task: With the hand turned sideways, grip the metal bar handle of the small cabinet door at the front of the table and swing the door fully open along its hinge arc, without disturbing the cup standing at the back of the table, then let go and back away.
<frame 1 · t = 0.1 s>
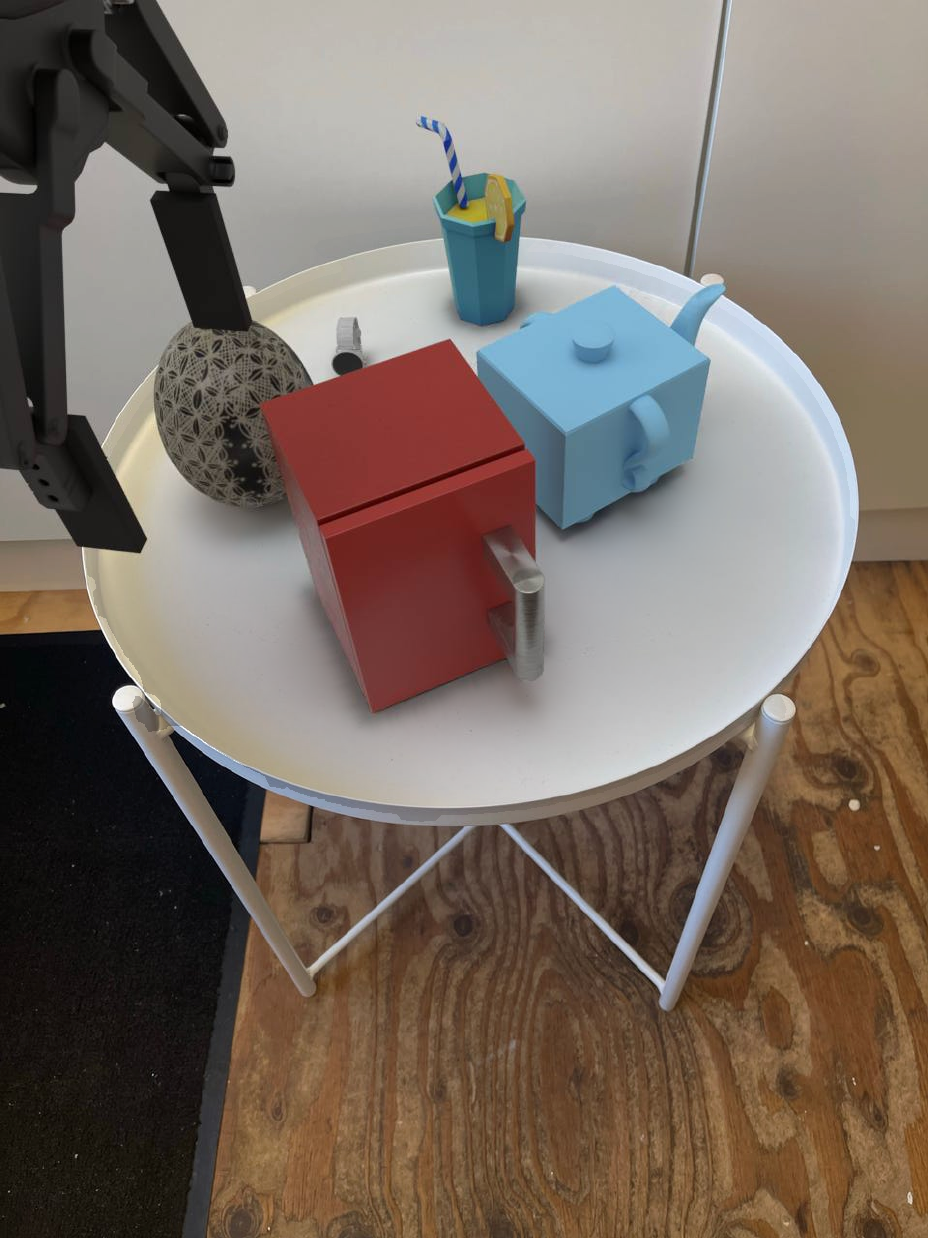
hand: (173, 424, 42), 26 cm above the table, tool pointing down, fingers open, 13 cm apart
cabinet door: (459, 623, 56), point 9 cm above the table, hinge at 0.0°
wristwatch: (355, 372, 84), on the table
teapot: (614, 453, 76), on the table
decorative egg: (263, 486, 77), on the table
cup: (478, 304, 88), on the table
red cabinet body: (419, 612, 68), on the table
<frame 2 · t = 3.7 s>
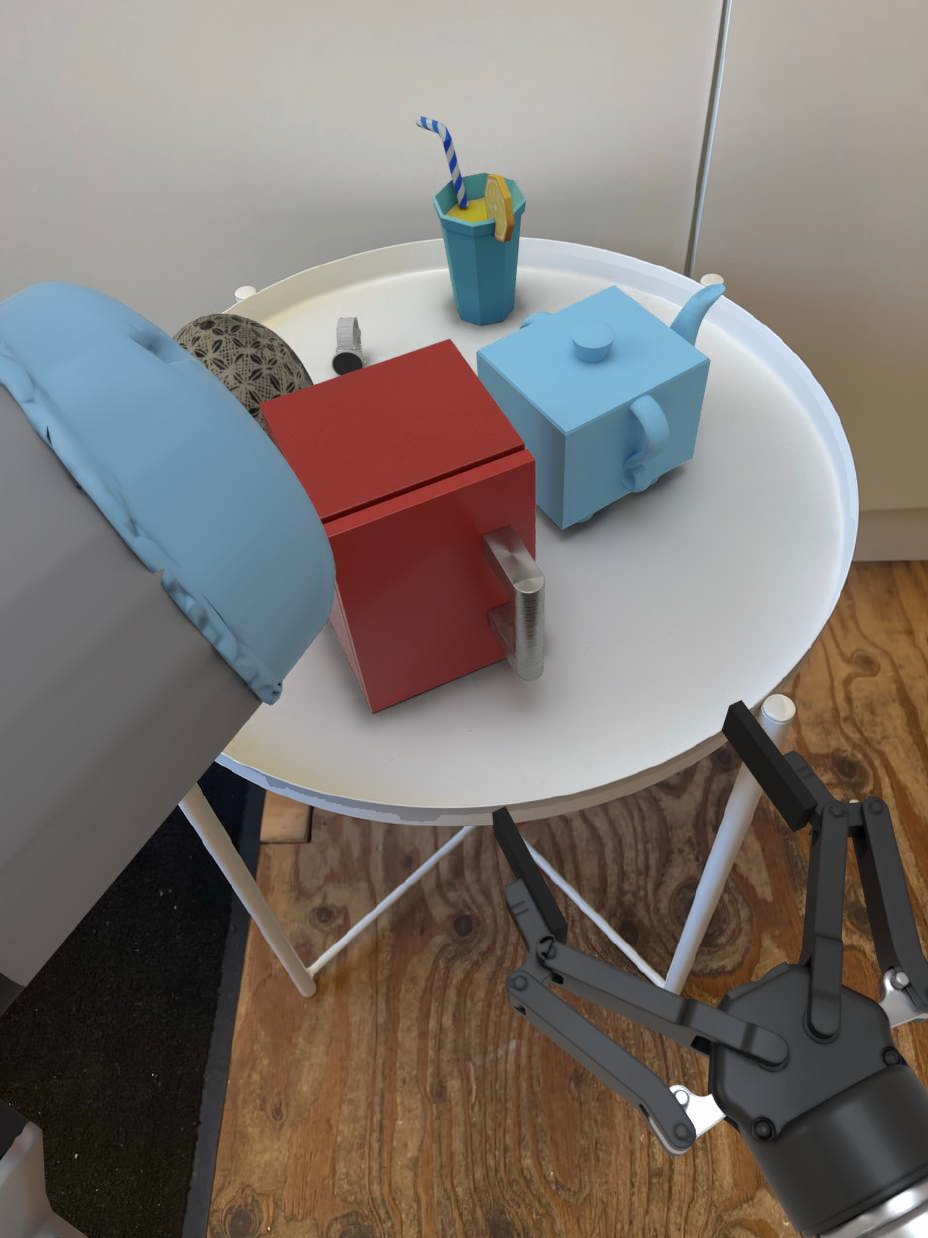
hand: (618, 765, 50), 10 cm above the table, tool horizontal, fingers open, 13 cm apart
nothing on the table moved.
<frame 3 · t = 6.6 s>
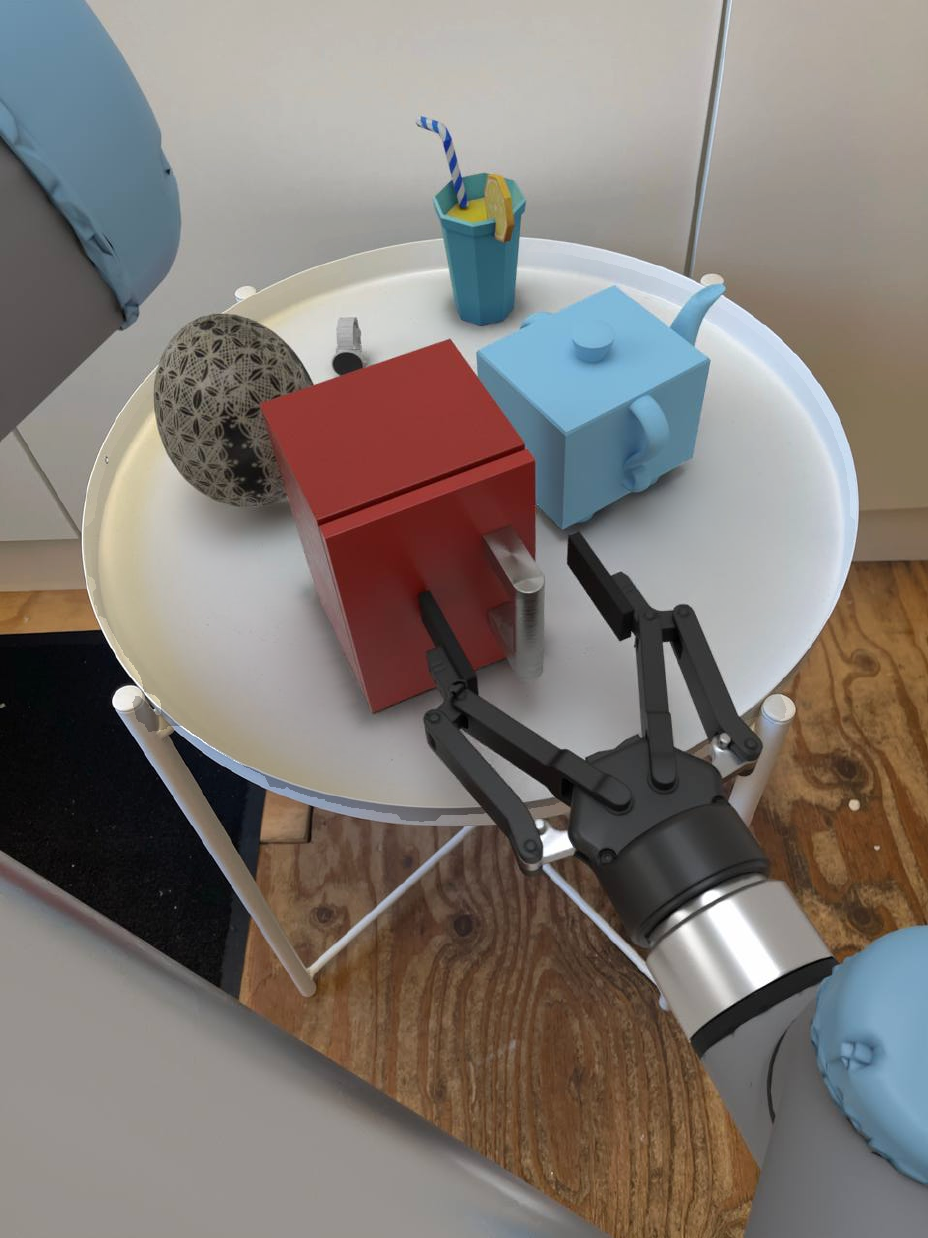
hand: (500, 576, 58), 9 cm above the table, tool horizontal, fingers open, 9 cm apart
cabinet door: (459, 623, 56), point 9 cm above the table, hinge at 0.0°, touching gripper
everything else where it was.
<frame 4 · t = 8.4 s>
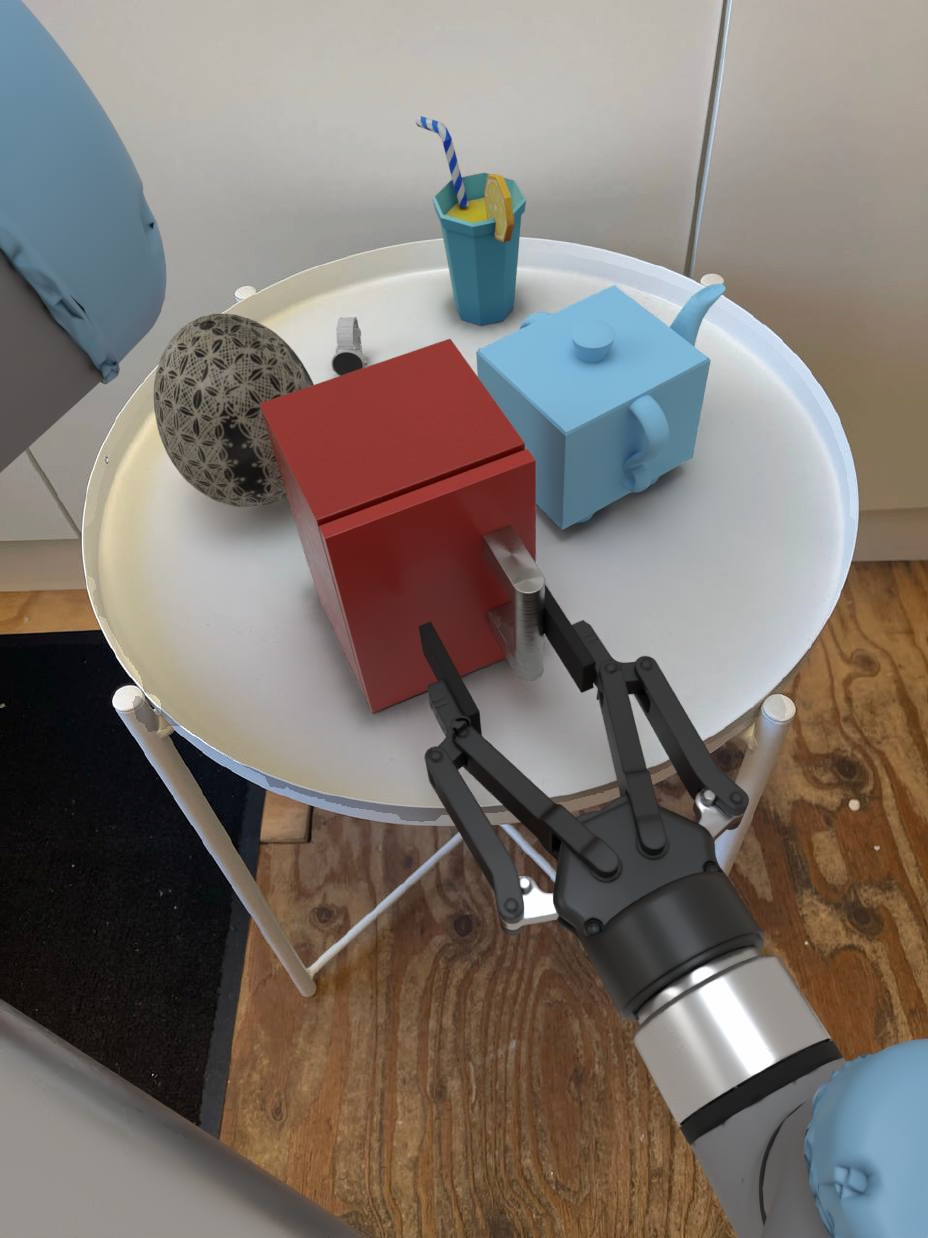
hand: (481, 615, 56), 9 cm above the table, tool horizontal, fingers open, 6 cm apart
nothing on the table moved.
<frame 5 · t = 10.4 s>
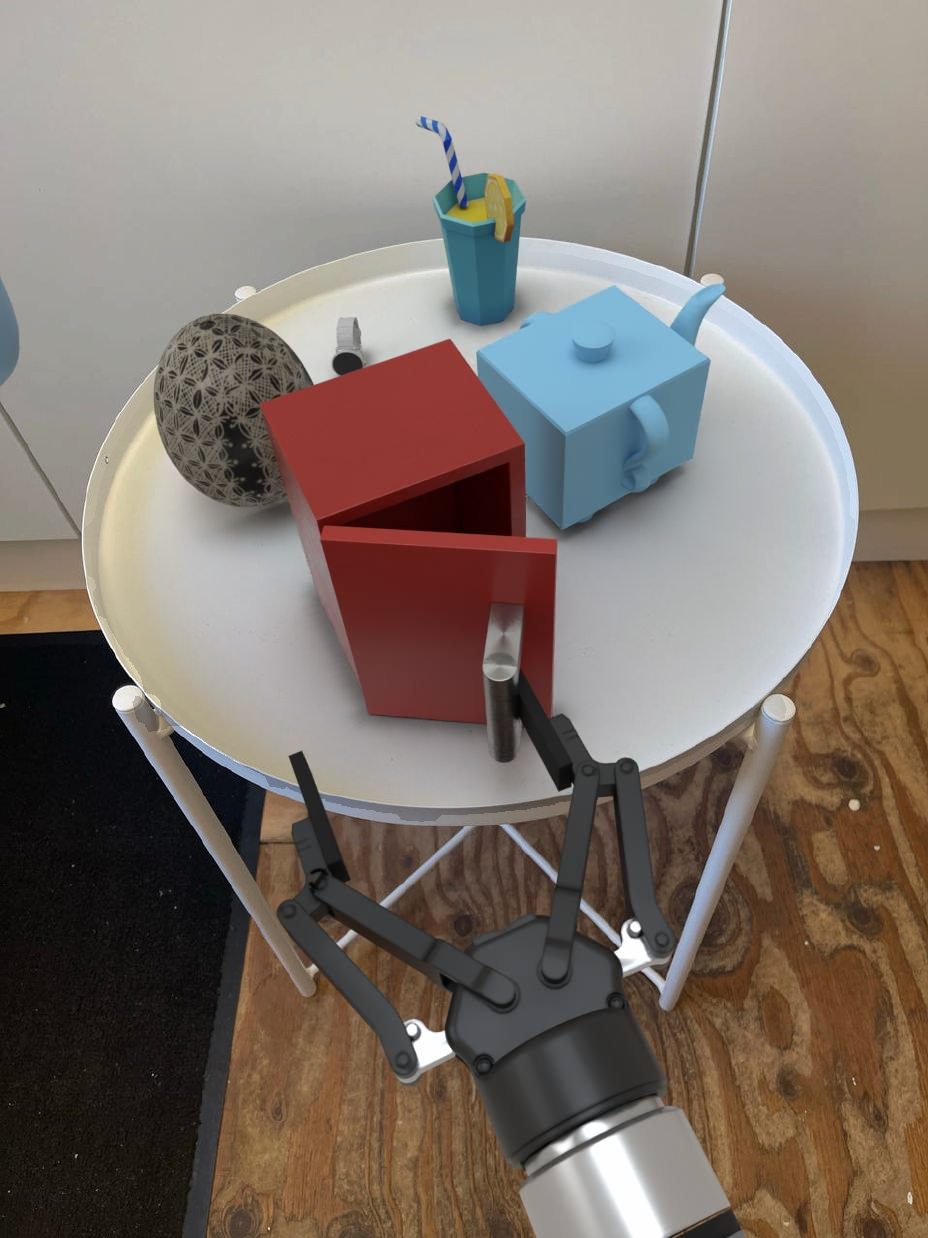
hand: (408, 721, 52), 9 cm above the table, tool horizontal, fingers open, 12 cm apart
cabinet door: (444, 674, 54), point 9 cm above the table, hinge at 31.7°, touching gripper
everything else where it was.
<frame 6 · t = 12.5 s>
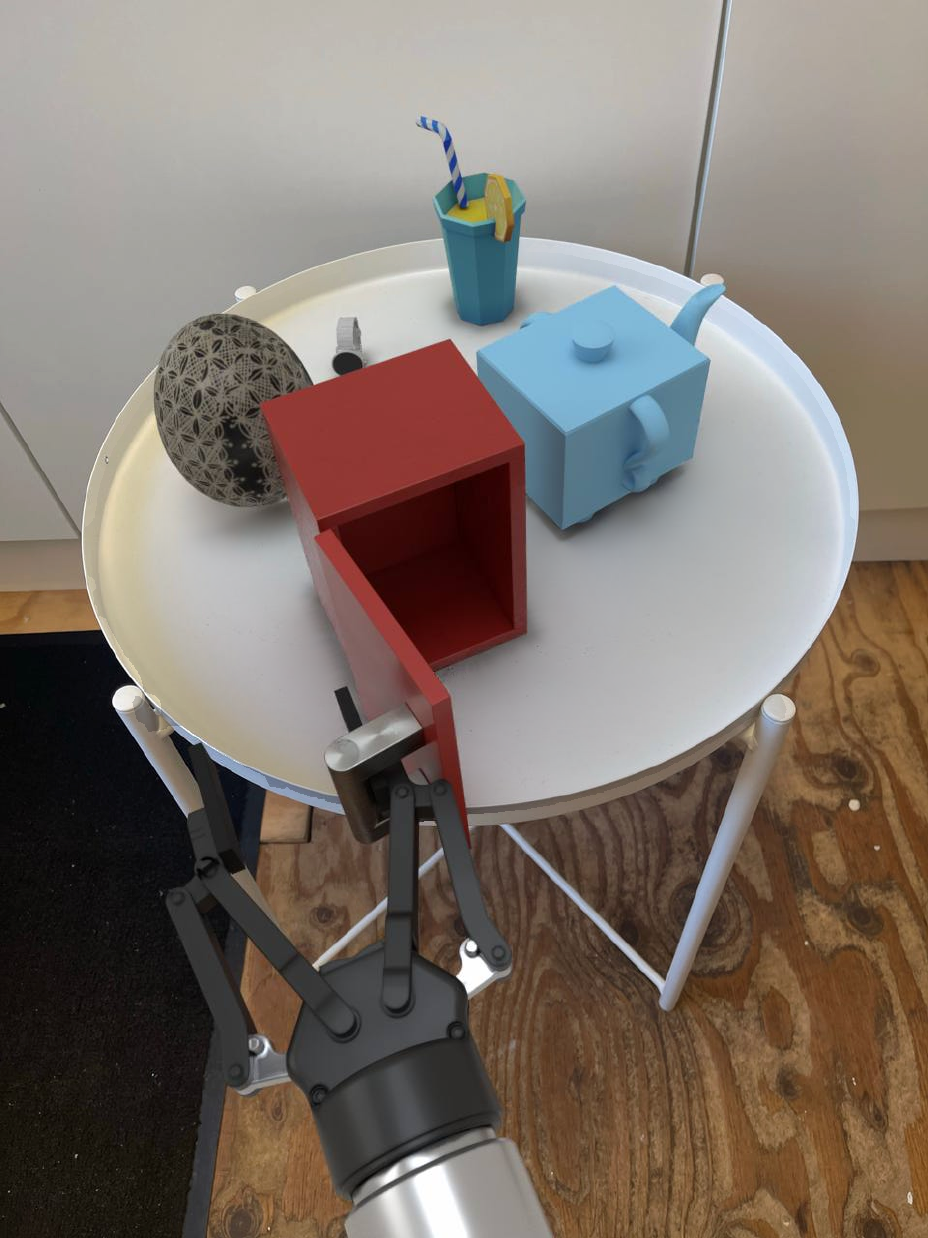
hand: (274, 729, 53), 9 cm above the table, tool horizontal, fingers open, 7 cm apart
cabinet door: (359, 726, 53), point 9 cm above the table, hinge at 82.8°, touching gripper
everything else where it was.
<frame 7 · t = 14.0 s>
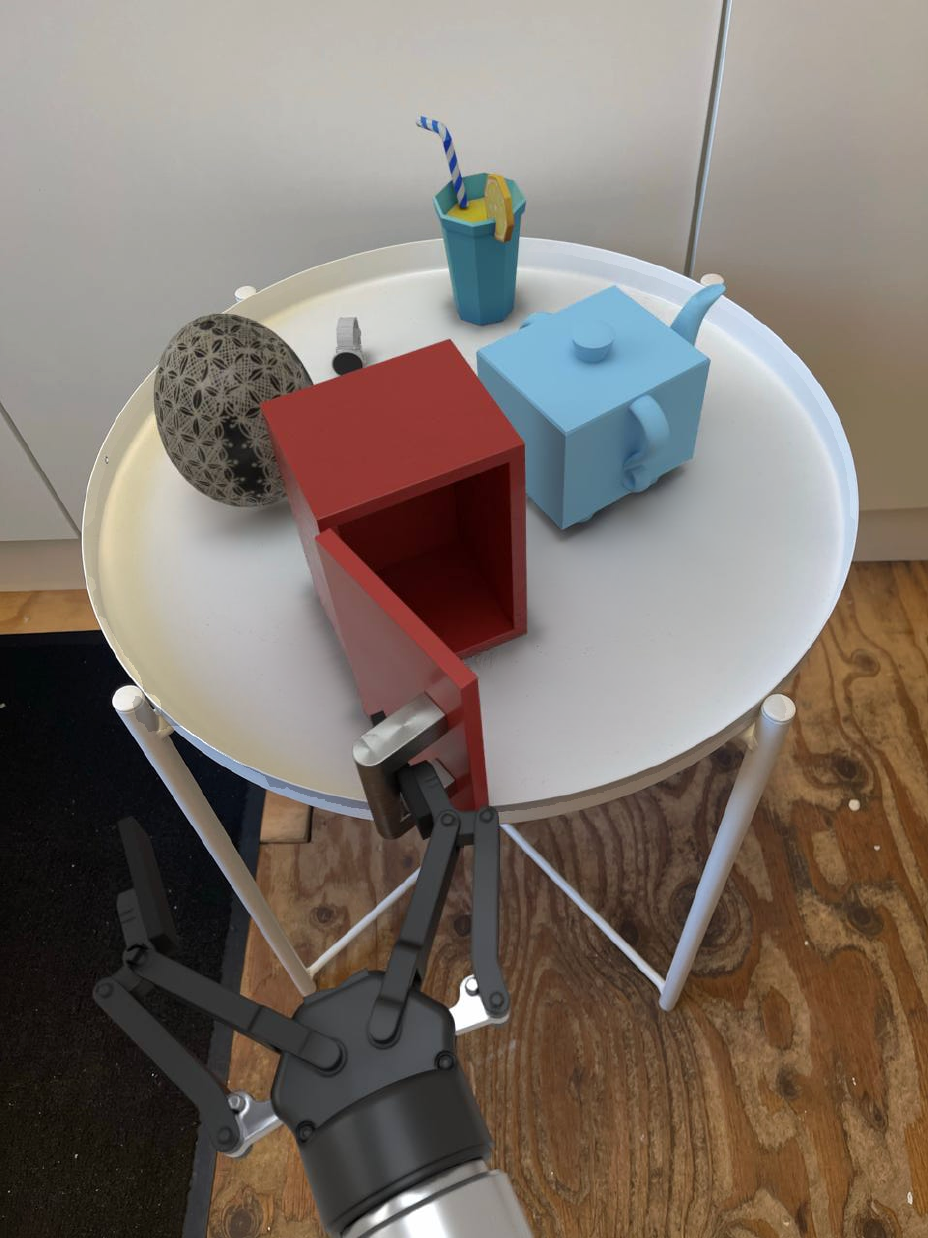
hand: (259, 775, 51), 10 cm above the table, tool horizontal, fingers open, 13 cm apart
cabinet door: (374, 723, 53), point 9 cm above the table, hinge at 75.5°, touching gripper
everything else where it was.
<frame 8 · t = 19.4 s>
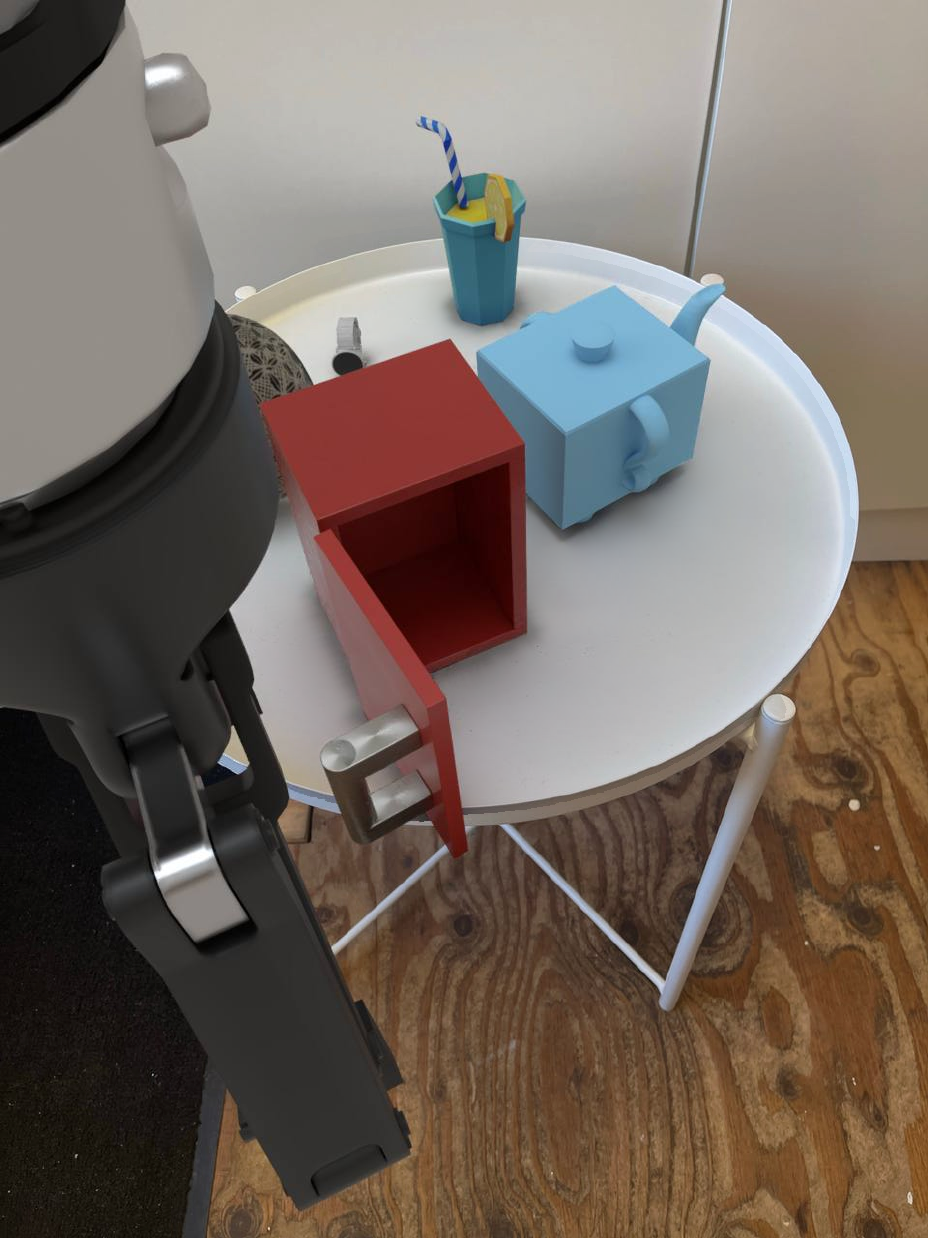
hand: (282, 884, 31), 25 cm above the table, tool pointing down, fingers open, 13 cm apart
cabinet door: (357, 726, 53), point 9 cm above the table, hinge at 83.9°
everything else where it was.
at the end: cabinet door at +84° (first picture: +0°); cabinet door touching nothing; cup moved 0.2 cm from its start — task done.
